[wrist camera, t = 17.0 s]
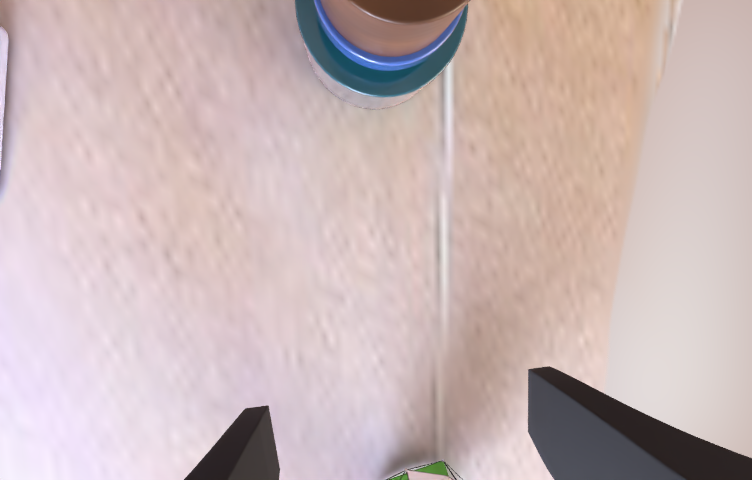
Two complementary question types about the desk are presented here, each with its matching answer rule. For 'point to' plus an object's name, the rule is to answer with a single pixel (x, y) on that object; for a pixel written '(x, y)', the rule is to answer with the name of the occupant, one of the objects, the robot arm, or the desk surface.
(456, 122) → the desk surface
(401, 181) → the desk surface
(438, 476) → the geometric puzzle
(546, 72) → the desk surface
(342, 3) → the brown short cylinder
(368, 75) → the ink bottle
